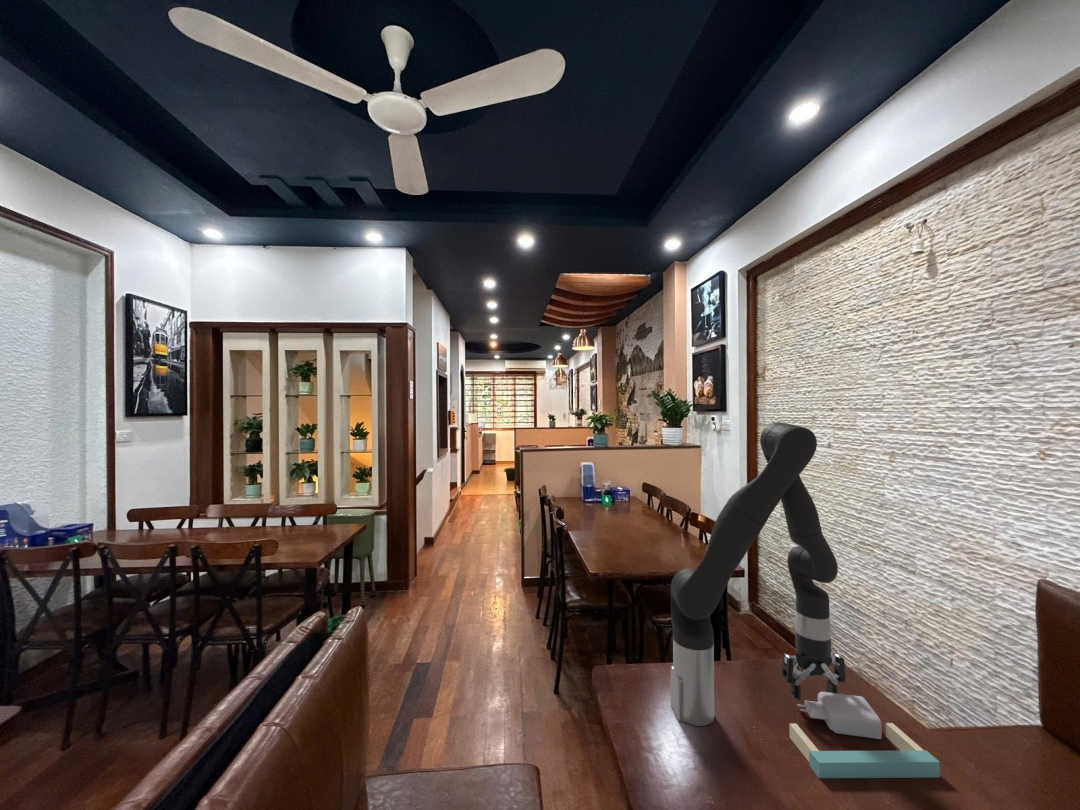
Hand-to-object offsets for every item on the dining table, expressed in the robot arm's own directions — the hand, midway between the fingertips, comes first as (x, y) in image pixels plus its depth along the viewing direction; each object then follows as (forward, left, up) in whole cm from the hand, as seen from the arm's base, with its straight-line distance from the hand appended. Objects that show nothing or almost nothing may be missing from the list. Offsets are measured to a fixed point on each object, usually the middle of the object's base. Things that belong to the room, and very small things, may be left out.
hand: (813, 698), depth 108 cm
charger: (+1, -5, -3) cm, 6 cm away
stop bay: (0, -16, -2) cm, 16 cm away
